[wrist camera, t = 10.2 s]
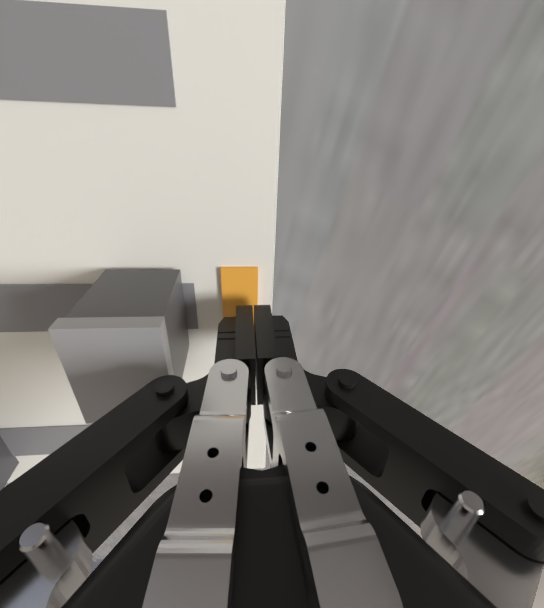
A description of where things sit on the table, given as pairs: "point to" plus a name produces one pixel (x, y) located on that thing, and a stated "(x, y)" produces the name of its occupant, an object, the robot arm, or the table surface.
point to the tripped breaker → (122, 337)
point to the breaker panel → (130, 181)
